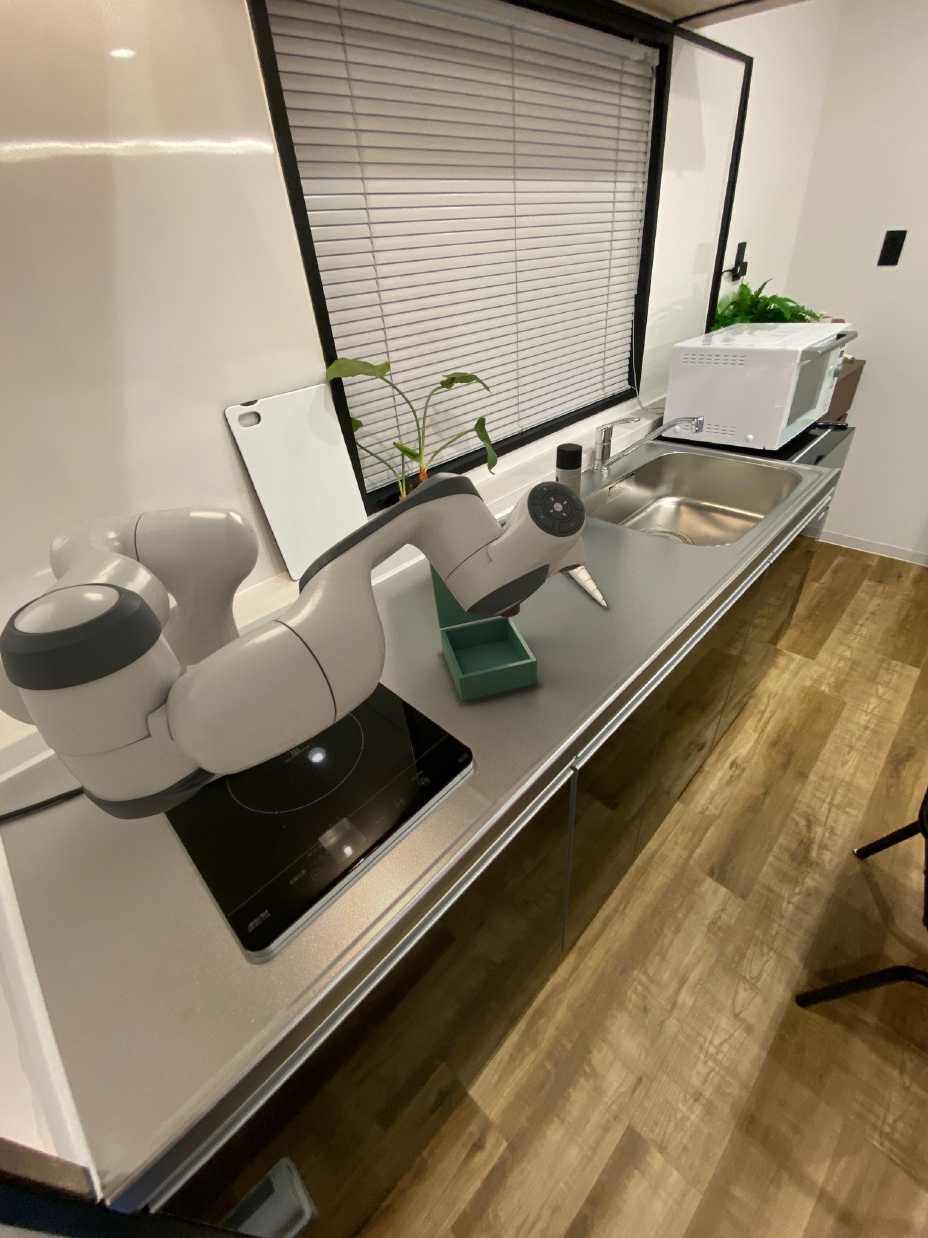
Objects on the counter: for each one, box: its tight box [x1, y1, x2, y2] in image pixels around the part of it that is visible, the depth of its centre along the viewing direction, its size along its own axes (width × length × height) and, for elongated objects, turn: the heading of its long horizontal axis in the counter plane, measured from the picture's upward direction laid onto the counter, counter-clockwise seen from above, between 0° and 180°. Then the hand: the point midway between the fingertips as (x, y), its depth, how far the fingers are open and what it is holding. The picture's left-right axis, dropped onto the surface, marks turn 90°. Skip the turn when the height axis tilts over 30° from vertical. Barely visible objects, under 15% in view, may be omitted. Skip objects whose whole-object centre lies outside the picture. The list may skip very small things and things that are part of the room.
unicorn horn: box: [566, 565, 608, 608], centre depth 119 cm, size 5×24×5 cm, turn 11°
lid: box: [428, 561, 493, 630], centre depth 97 cm, size 15×14×1 cm
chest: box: [439, 616, 538, 702], centre depth 96 cm, size 15×14×6 cm
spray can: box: [554, 442, 583, 499], centre depth 143 cm, size 7×7×20 cm
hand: (505, 580), depth 88 cm, fingers closed on pepper mill, 4 cm apart
